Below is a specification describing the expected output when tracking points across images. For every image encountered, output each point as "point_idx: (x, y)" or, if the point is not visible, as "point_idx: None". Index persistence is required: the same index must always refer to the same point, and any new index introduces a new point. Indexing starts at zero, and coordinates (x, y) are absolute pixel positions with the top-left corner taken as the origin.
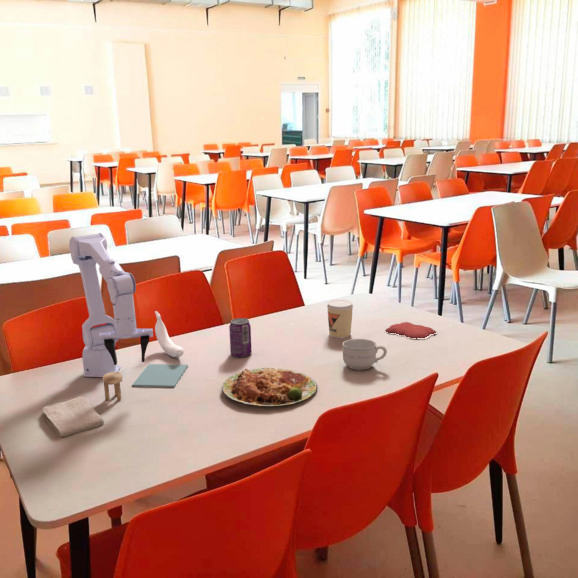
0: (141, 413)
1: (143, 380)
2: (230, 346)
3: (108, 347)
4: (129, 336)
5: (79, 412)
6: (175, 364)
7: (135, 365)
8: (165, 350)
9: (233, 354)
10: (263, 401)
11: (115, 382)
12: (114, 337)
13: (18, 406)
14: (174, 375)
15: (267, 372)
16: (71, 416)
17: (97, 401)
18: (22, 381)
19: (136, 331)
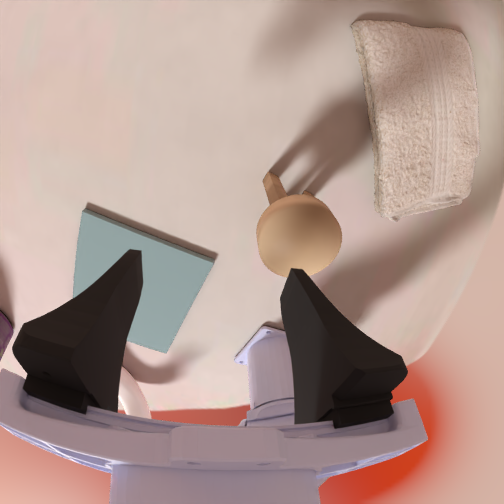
0: (210, 38)
1: (177, 278)
2: (3, 336)
3: (377, 352)
4: (170, 447)
5: (420, 100)
6: None
7: (199, 359)
8: (131, 381)
9: (2, 317)
10: None
11: (294, 198)
12: (344, 439)
13: (469, 249)
14: (91, 277)
15: None
16: (441, 88)
17: (337, 197)
18: (416, 341)
19: (112, 466)
